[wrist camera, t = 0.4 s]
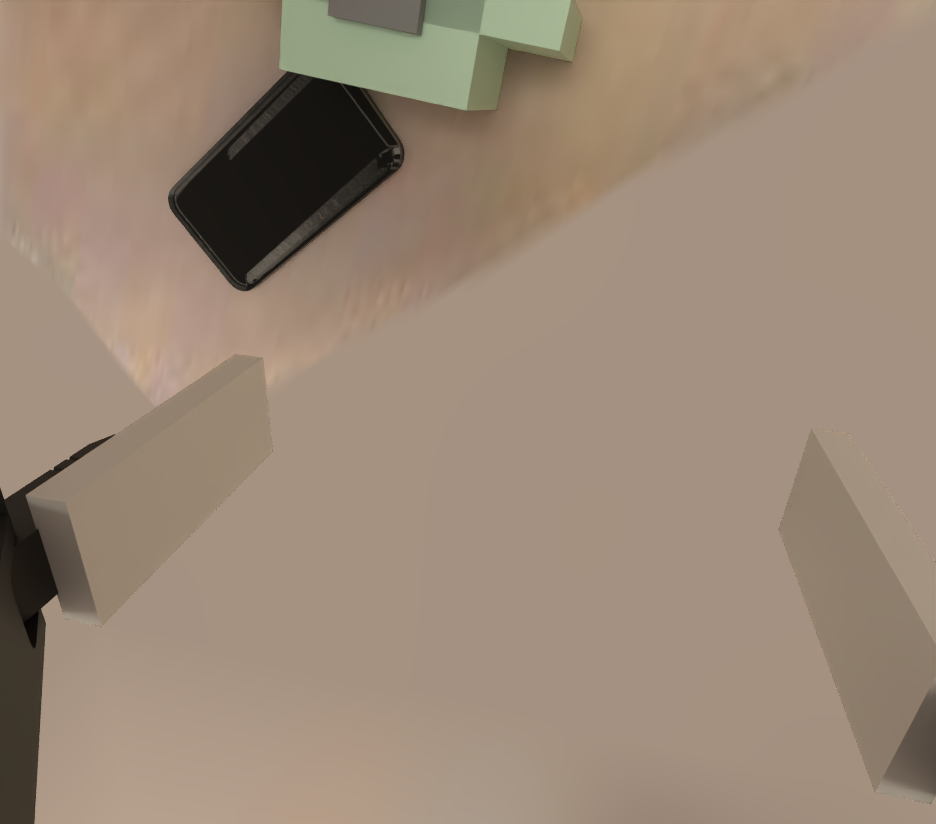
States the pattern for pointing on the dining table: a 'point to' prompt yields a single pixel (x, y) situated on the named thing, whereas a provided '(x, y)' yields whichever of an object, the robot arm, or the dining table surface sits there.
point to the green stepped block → (424, 44)
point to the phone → (284, 175)
